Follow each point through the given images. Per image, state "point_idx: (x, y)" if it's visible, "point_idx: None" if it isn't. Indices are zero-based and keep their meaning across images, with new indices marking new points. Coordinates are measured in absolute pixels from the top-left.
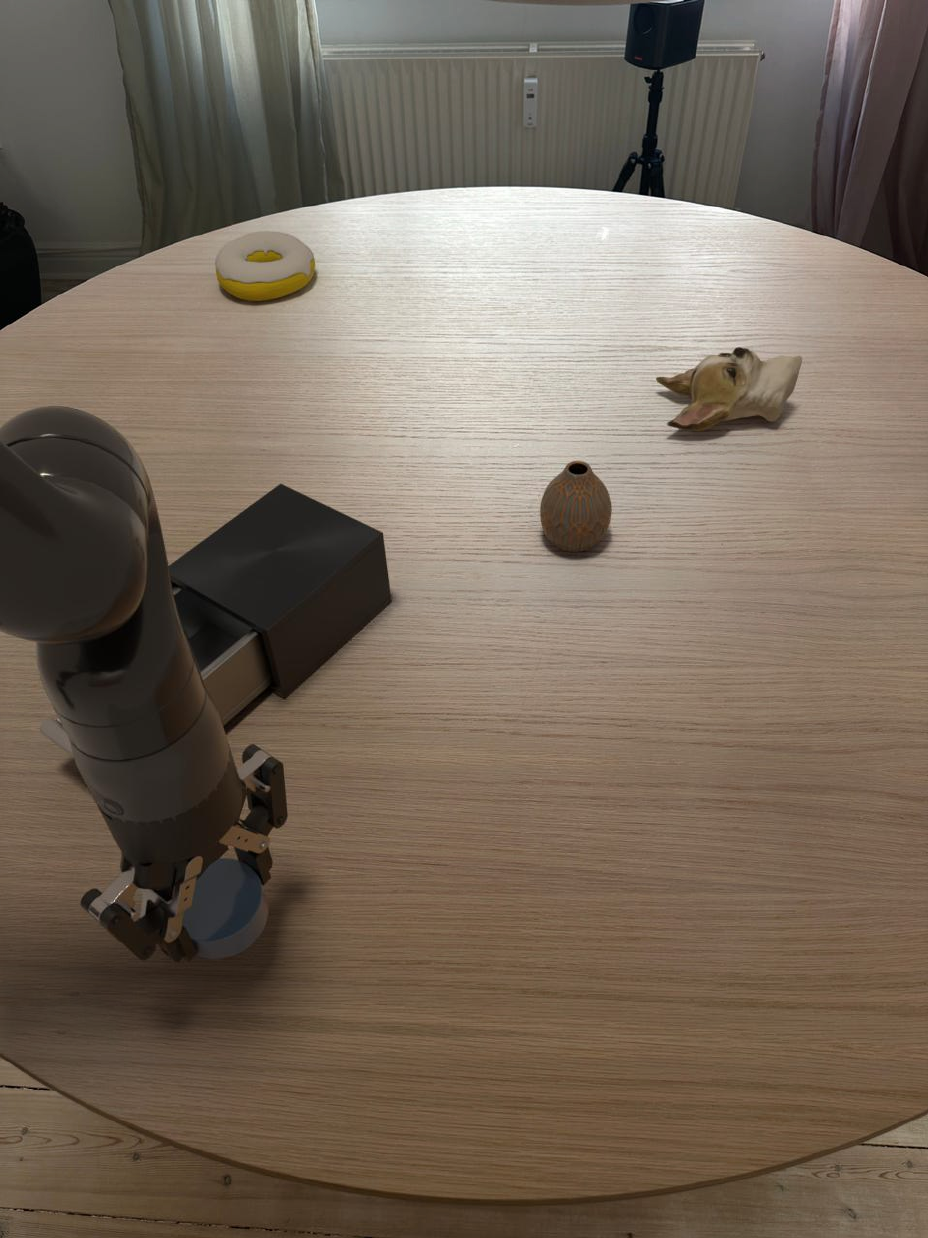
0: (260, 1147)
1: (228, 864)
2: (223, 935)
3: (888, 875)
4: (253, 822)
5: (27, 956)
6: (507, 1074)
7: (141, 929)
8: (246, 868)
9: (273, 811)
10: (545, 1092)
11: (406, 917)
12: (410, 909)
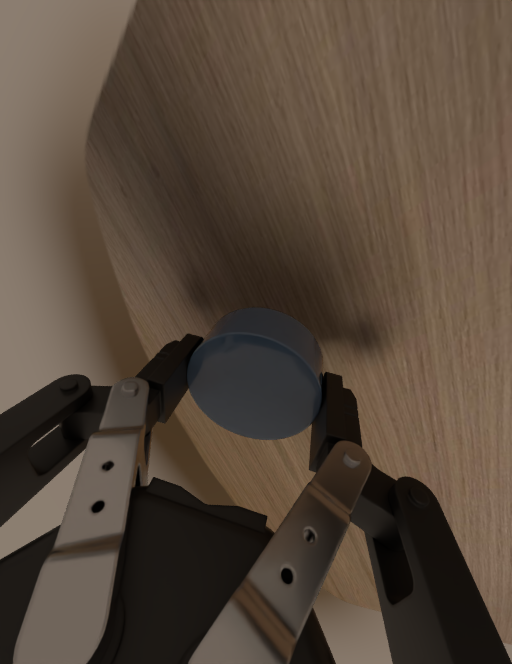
0: None
1: (308, 388)
2: (213, 419)
3: None
4: (358, 510)
5: (145, 48)
6: (279, 491)
7: (31, 497)
8: (312, 413)
9: (377, 590)
10: (279, 505)
11: (368, 432)
12: (377, 433)
